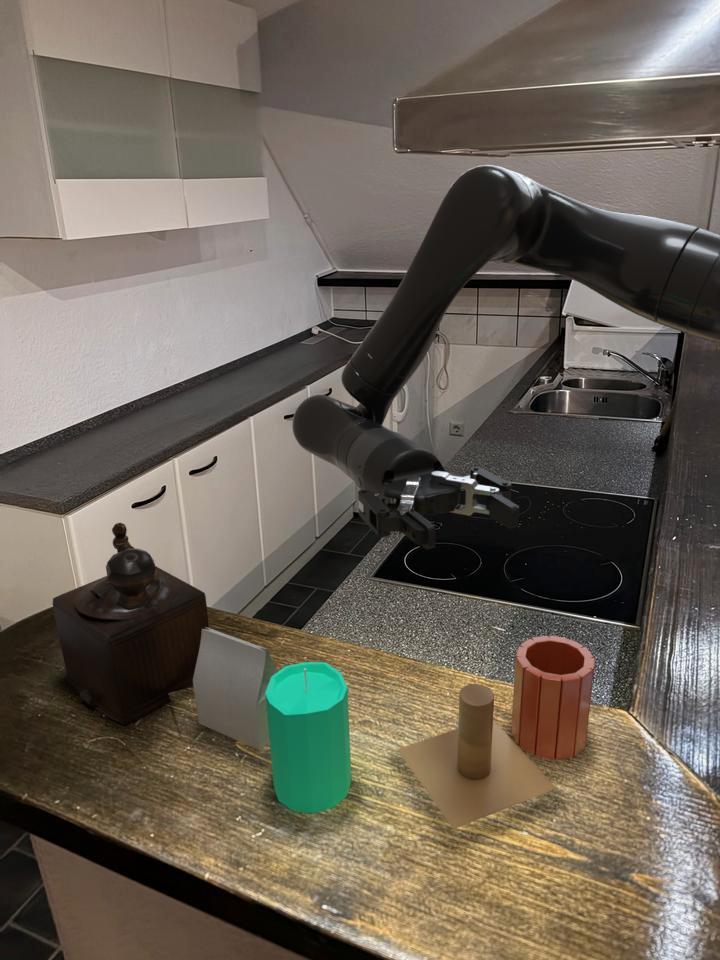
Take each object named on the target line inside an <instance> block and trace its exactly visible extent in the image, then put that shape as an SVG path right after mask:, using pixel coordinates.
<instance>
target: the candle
mask: <svg viewBox="0 0 720 960" xmlns="http://www.w3.org/2000/svg"><path fill="white" fill-rule="evenodd" d="M265 698H266V709H267V719H268V730H269V741H270V742H269V752H270V761H271V763H270V764H271V773H272V784H273V788H274V792H275V795H276V798H277V801H278V802H279V803H281V804H283V805H284V806H285V807H287V809H289V810H290V811H292V812H297V813H306V814H307V813H308V814H316V813H319V812H323V811H327V810H329V809H330V810H331V809H334V808H335V807H336V806H337V805H338V804H339V803H341V802H342V801H343V800H344V799H345V798H347V796H348V795H349V791H350V787H351V784H352V763H351V762H352V761H351V760H352V758H351V738H350V712H349V687H348V685H347V682H346V681H345V678H344V676H343V674H342V673H341V672H340V671H339V670H338V669H336V668H335V667H334V666H332V665H330V664H329V663H327V662H326V661H325V662H324V661H321V662H320V661H318V662H317V661H305V662H301V663H295V664H290V665H289V664H288V665H285V666H284V667H283V668H282V669H281V668H280V670H278V672H277V673H276V674H274V675H273V676H272V677H271V679H270V681H269V684H268V687H267V690H266V693H265Z"/></svg>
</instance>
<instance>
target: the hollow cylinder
mask: <svg viewBox="0 0 720 960" xmlns="http://www.w3.org/2000/svg"><path fill="white" fill-rule="evenodd" d="M514 659H515V660H514V661H515V662H514V677H513V691H512V692H513V693H512V695H513V696H512V712H511V728H510V732H511V736H512V737H513V739H514V742H515V743H516V745H517V746H519V748H520V749H522V750H524V751H526V752H528V754H531V755H532V756H535V757H538V758H543V759H548V760H553V761H555V760H556V761H559V760H565V759H571V758H573V757H576V756H577V755H579V754H580V753H581V752H582V751H583V750H585V748H586V746H587V740H588V731H589V720H590V710H591V701H592V692H593V683H594V673H595V663H596V659H595V656H594V655H593V653H592V652H591V651H590V650H589V649H588V647H586V646H584V645H583V644H581V643H579V642H578V641H575V640H573V639H570V638H567V637H563V636H557V635H540V636H532V637H531V638H527V639H526V640H525V641H523V642H522V643H520V644H519V645H518V646H517V648H516V653H515V658H514Z"/></svg>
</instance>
